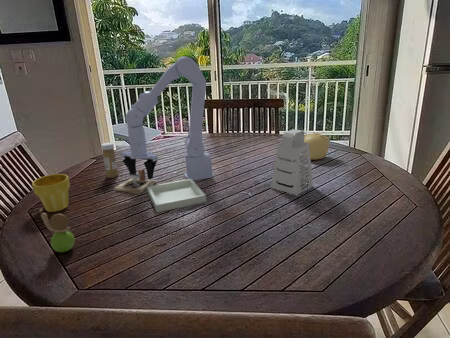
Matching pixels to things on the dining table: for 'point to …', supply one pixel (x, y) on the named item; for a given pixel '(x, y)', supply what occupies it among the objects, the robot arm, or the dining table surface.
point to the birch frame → (141, 180)
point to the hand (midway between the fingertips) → (142, 177)
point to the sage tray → (175, 195)
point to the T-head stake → (134, 179)
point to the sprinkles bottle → (109, 159)
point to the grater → (292, 163)
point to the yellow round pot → (317, 145)
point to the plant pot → (52, 191)
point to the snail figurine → (59, 232)
